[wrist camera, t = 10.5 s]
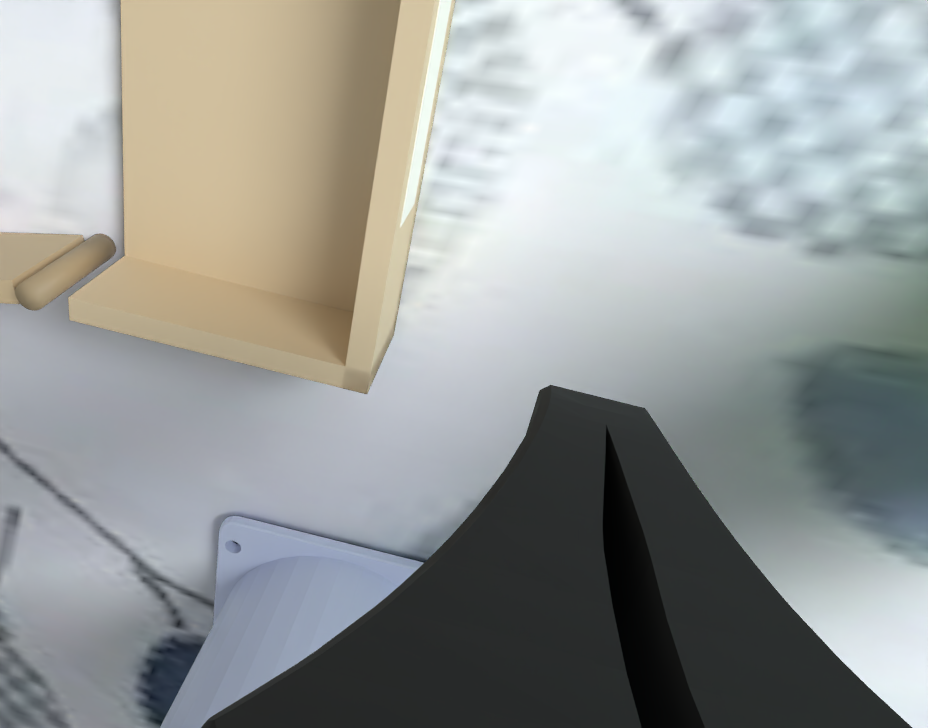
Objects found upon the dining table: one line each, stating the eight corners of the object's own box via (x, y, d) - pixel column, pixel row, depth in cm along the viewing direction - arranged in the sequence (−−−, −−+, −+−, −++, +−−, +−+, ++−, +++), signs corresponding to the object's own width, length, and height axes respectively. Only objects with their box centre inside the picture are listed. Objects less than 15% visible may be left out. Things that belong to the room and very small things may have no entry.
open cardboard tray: (394, 335, 21) (367, 394, 18) (132, 270, 21) (69, 320, 18) (520, -344, 14) (504, -402, 11) (125, -438, 14) (21, -518, 11)
